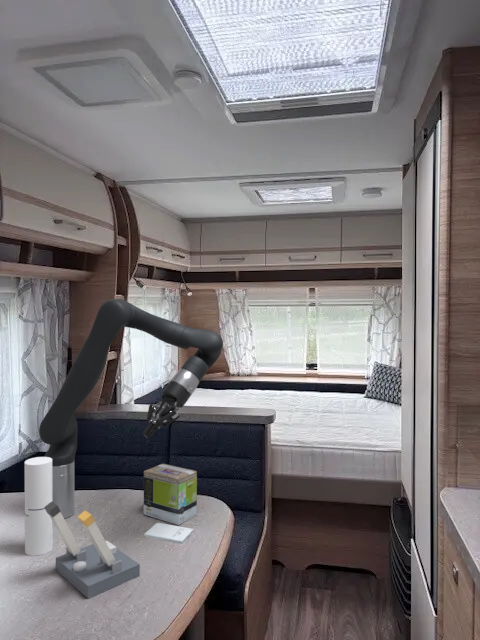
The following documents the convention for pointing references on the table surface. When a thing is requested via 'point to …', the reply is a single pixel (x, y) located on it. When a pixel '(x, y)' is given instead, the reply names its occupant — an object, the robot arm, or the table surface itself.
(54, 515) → the black lever
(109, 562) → the amber lever
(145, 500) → the tea box
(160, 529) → the external hard drive
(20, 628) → the table surface
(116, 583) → the switch panel
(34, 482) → the cylindrical container
